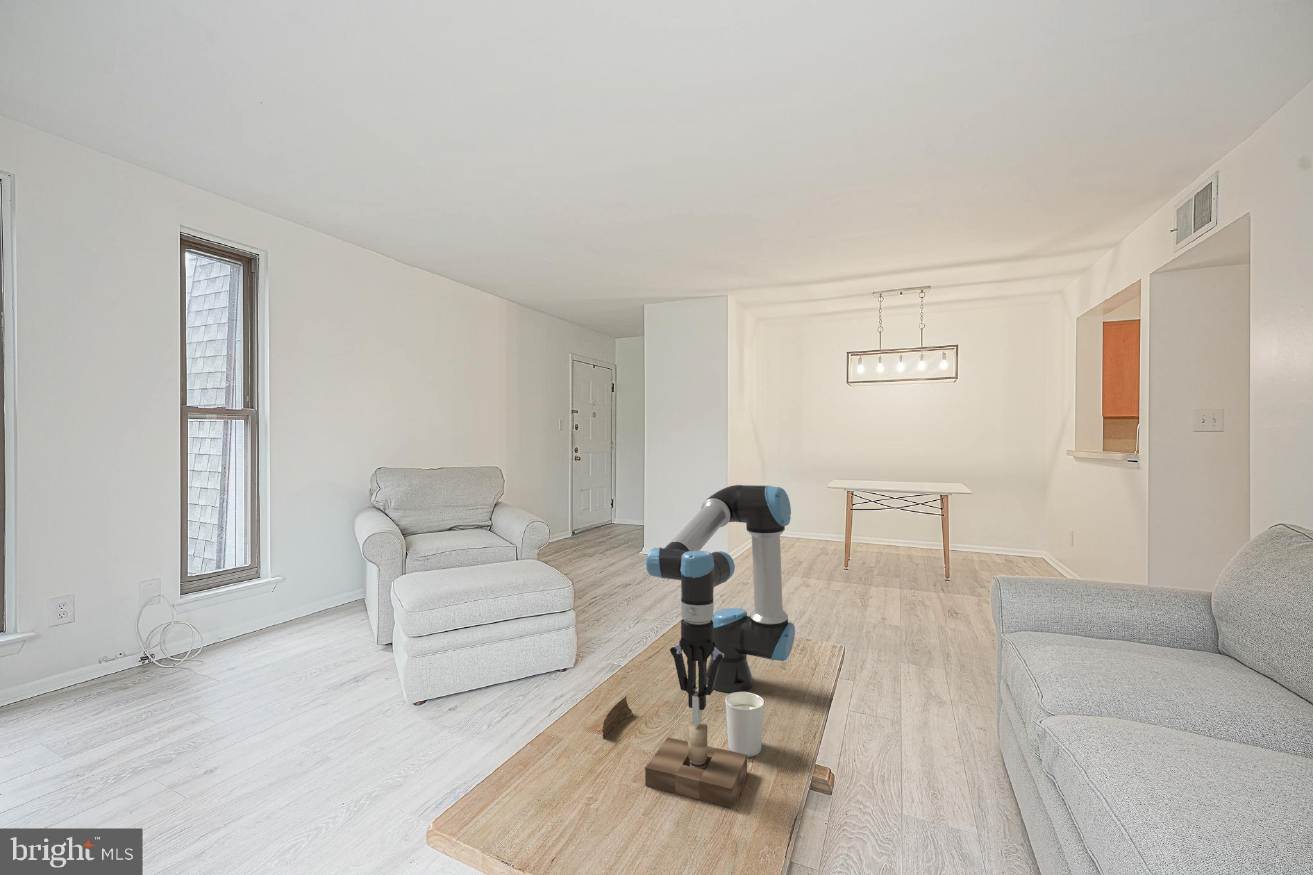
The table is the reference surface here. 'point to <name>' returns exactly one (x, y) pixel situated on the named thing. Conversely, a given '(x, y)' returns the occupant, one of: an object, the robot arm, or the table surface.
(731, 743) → the candle holder
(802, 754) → the table surface
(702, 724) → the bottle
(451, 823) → the table surface
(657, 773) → the wooden block with hole
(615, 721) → the wood plank
